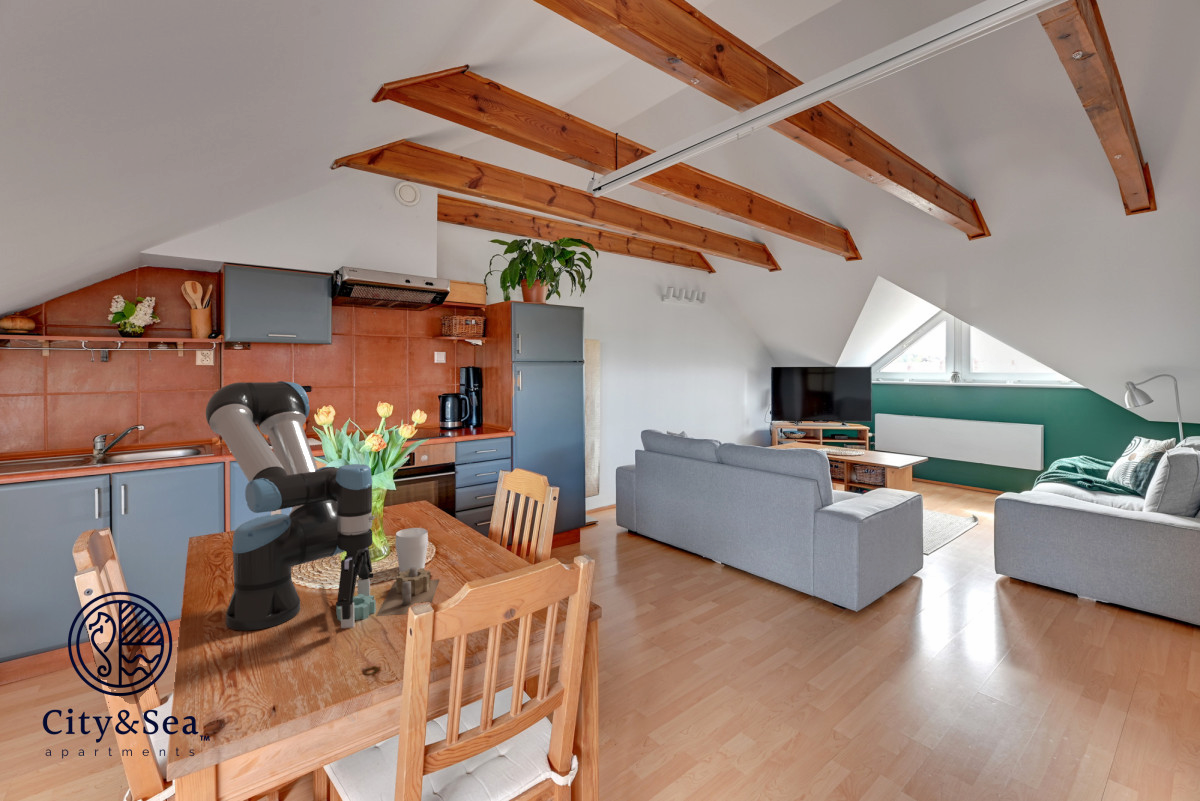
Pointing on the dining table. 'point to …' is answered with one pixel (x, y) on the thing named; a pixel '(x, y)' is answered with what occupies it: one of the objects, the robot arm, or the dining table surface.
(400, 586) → the gear
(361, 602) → the gear
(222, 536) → the dining table surface
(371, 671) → the dining table surface
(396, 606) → the gear board
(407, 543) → the cup
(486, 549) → the dining table surface
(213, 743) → the dining table surface
